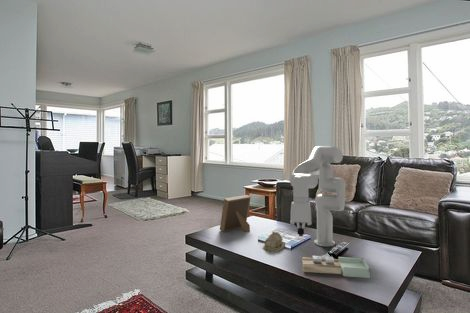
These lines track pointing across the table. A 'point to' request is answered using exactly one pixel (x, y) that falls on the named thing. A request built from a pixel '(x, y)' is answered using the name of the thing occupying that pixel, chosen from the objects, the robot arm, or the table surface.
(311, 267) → the slot rail
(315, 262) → the chip
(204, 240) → the table surface
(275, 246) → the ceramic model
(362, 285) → the table surface
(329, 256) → the adjustable wrench
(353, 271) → the tray
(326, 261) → the chip
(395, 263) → the table surface
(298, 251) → the table surface
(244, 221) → the photo frame
